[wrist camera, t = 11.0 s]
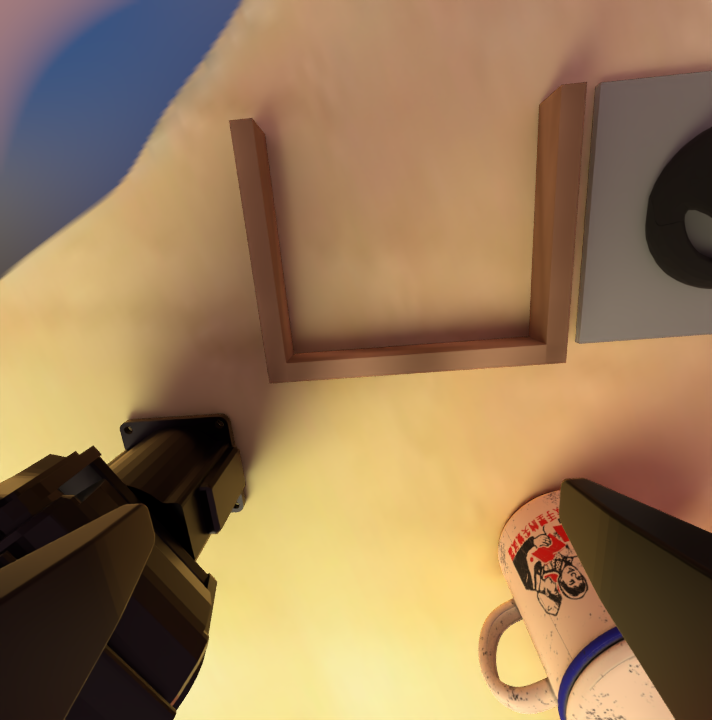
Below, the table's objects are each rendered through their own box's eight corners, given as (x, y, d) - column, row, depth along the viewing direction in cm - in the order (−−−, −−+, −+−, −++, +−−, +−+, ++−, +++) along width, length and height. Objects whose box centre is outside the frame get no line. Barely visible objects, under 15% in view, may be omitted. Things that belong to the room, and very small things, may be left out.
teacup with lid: (605, 457, 21) (869, 674, 10) (657, 565, 23) (928, 848, 12) (427, 540, 23) (483, 799, 12) (488, 633, 25) (586, 931, 14)
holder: (278, 371, 21) (269, 383, 19) (244, 136, 17) (229, 120, 15) (546, 352, 20) (566, 362, 18) (561, 102, 17) (586, 82, 15)
